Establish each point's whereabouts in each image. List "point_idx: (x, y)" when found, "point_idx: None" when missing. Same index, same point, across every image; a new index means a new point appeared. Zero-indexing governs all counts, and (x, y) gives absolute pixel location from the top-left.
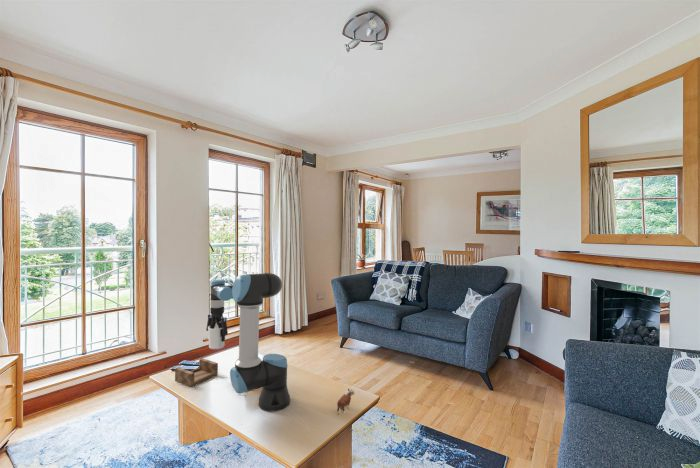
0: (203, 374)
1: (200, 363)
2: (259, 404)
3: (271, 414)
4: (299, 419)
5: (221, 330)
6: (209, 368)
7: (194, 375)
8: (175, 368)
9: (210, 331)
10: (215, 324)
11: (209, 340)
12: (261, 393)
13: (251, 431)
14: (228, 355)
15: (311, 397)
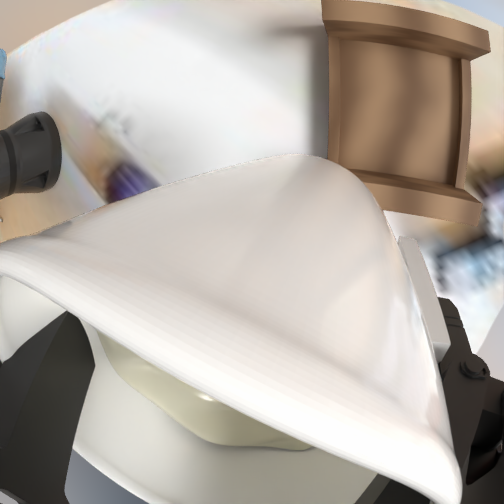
0: (387, 141)
1: (463, 194)
2: (40, 114)
3: (26, 115)
4: None
5: (32, 336)
6: (376, 176)
7: (421, 112)
8: (486, 30)
9: (125, 206)
10: None
11: (300, 164)
12: (21, 127)
13: (23, 56)
14: None
15: (27, 216)
